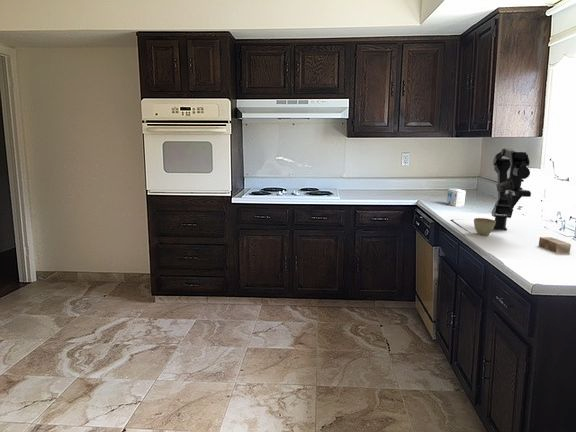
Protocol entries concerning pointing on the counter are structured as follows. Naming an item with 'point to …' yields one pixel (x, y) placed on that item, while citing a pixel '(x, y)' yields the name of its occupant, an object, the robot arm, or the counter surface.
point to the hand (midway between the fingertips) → (511, 208)
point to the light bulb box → (456, 197)
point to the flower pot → (484, 225)
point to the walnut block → (554, 245)
